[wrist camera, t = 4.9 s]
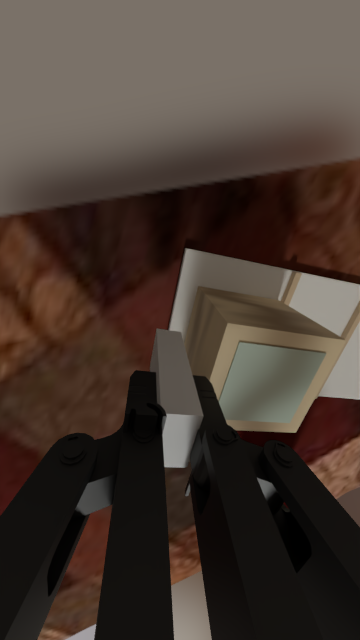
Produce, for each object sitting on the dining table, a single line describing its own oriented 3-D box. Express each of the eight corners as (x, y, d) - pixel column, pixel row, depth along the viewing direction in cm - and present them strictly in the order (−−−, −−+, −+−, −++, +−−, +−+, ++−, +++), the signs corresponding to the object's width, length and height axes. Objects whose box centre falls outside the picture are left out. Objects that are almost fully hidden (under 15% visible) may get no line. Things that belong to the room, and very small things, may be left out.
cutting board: (158, 378, 21) (158, 386, 20) (185, 247, 16) (187, 249, 15) (403, 399, 27) (413, 406, 26) (471, 307, 22) (487, 311, 21)
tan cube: (179, 361, 20) (194, 429, 13) (198, 285, 17) (228, 323, 11) (251, 368, 21) (296, 433, 15) (277, 299, 18) (347, 341, 12)
